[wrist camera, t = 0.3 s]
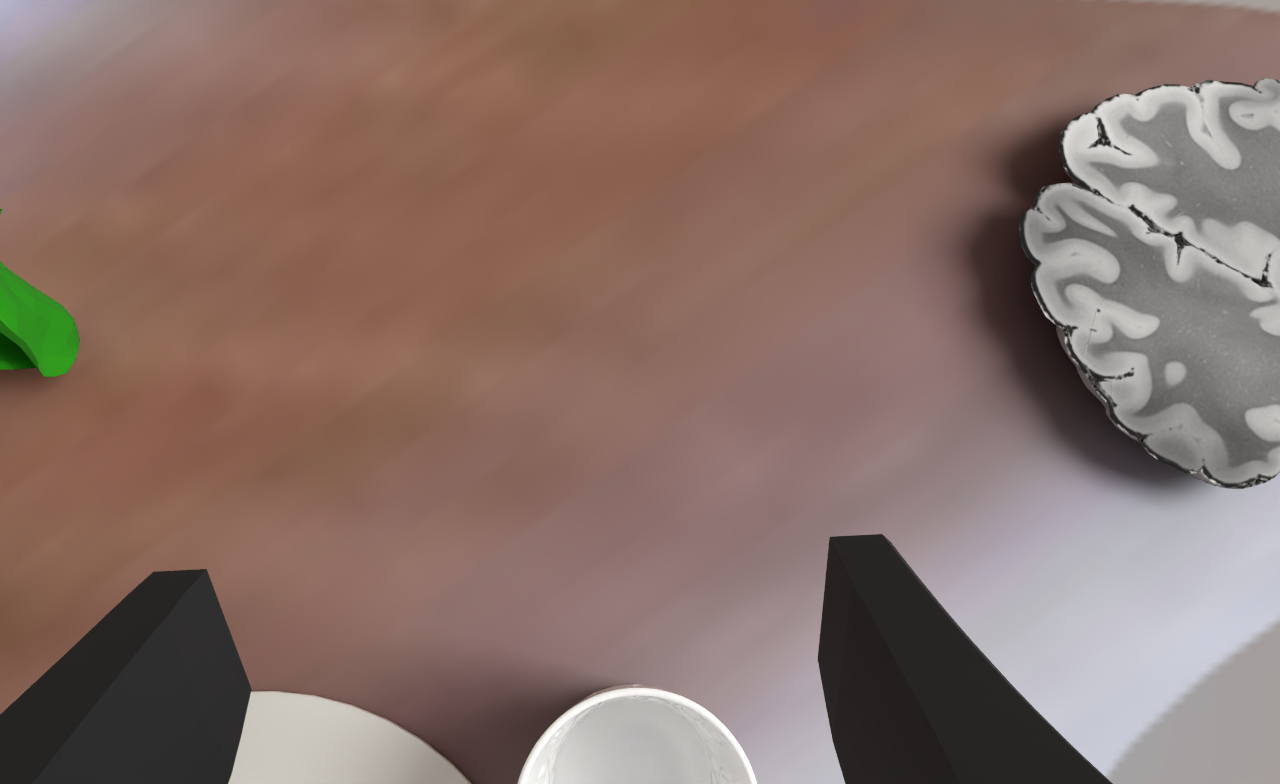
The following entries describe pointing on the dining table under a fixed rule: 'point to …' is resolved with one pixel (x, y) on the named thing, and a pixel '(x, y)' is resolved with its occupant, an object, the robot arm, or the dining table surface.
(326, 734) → the white plate
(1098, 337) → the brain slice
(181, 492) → the dining table surface
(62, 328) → the flower
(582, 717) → the white cup
